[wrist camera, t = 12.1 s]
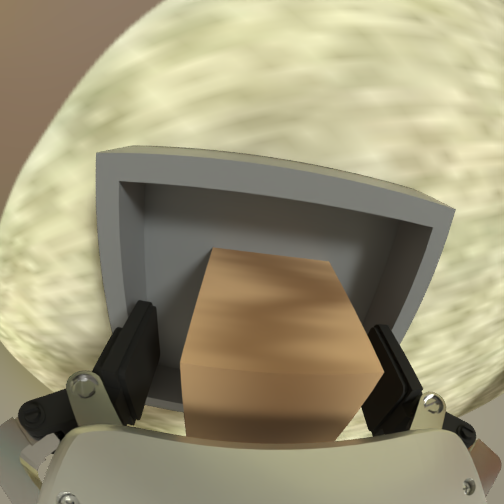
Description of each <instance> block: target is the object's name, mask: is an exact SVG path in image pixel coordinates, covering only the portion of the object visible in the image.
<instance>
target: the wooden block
mask: <svg viewBox="0 0 504 504" xmlns="http://www.w3.org/2000/svg"><path fill="white" fill-rule="evenodd" d="M180 372H181V386H182V398H183V409H184V419H185V428H186V437H193V438H200V439H208V440H217V441H227V442H240V443H261V444H301V443H321V442H334V441H335V440H336V439H337V437H338V436H339V435H340V434H341V432H342V431H343V430H344V429H345V427H346V426H347V425H348V424H349V422H350V421H351V420H352V418H353V417H354V416H355V414H356V413H357V412H358V410H359V409H360V408H361V406H362V405H363V403H364V402H365V401H366V399H367V398H368V396H369V395H370V393H371V392H372V390H373V389H374V387H375V386H376V384H377V383H378V381H379V380H380V378H381V377H382V375H383V373H384V370H383V368H382V366H381V364H380V362H379V359H378V357H377V355H376V353H375V351H374V349H373V346H372V344H371V342H370V340H369V338H368V336H367V334H366V332H365V330H364V328H363V326H362V324H361V322H360V320H359V318H358V316H357V314H356V312H355V310H354V308H353V306H352V304H351V302H350V300H349V298H348V296H347V294H346V292H345V290H344V288H343V286H342V285H341V283H340V281H339V279H338V277H337V275H336V273H335V271H334V270H333V268H332V266H331V264H330V262H329V261H321V260H313V259H305V258H296V257H288V256H280V255H272V254H263V253H255V252H247V251H239V250H230V249H222V248H214V247H213V249H212V252H211V255H210V258H209V262H208V265H207V268H206V272H205V275H204V278H203V282H202V285H201V288H200V292H199V295H198V299H197V302H196V306H195V309H194V313H193V316H192V320H191V323H190V327H189V330H188V334H187V338H186V341H185V345H184V349H183V353H182V356H181V360H180Z"/></svg>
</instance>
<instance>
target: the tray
mask: <svg viewBox="0 0 504 504" xmlns="http://www.w3.org/2000/svg"><path fill="white" fill-rule="evenodd" d="M455 210H456V209H454V208H452V207H450V206H448V205H446V204H444V203H442V202H440V201H438V200H436V199H434V198H432V197H430V196H428V195H426V194H424V193H422V192H419V191H417V190H415V189H412V188H408V187H405V186H401V185H398V184H394V183H391V182H387V181H383V180H379V179H375V178H372V177H368V176H363V175H359V174H355V173H351V172H346V171H342V170H337V169H333V168H328V167H323V166H318V165H313V164H307V163H302V162H296V161H291V160H285V159H278V158H272V157H265V156H258V155H251V154H243V153H235V152H226V151H216V150H206V149H194V148H180V147H163V146H128V147H123V148H117V149H112V150H107V151H102V152H98V153H96V213H97V230H98V242H99V253H100V262H101V270H102V278H103V285H104V291H105V297H106V303H107V309H108V314H109V319H110V324H111V329H112V333H113V332H114V330H115V329H116V328H117V327H121V328H123V326H124V324H125V322H126V321H127V319H128V317H129V315H130V313H131V312H132V310H133V308H134V306H135V305H136V303H137V301H138V300H142V301H148V302H152V305H153V306H156V309H157V321H158V333H159V344H160V359H159V362H158V365H157V368H156V371H155V374H154V377H153V380H152V383H151V386H150V389H149V392H148V396H147V399H146V402H145V405H149V406H153V407H158V408H163V409H168V410H173V411H178V412H184V409H183V398H182V386H181V372H180V360H181V356H182V353H183V349H184V345H185V341H186V338H187V334H188V330H189V327H190V323H191V320H192V316H193V313H194V309H195V306H196V302H197V299H198V295H199V292H200V288H201V285H202V282H203V278H204V275H205V272H206V268H207V265H208V262H209V258H210V255H211V252H212V249H213V247H214V248H222V249H230V250H239V251H247V252H255V253H263V254H272V255H280V256H288V257H296V258H305V259H313V260H321V261H329V262H330V264H331V266H332V268H333V270H334V271H335V273H336V275H337V277H338V279H339V281H340V283H341V285H342V286H343V288H344V290H345V292H346V294H347V296H348V298H349V300H350V302H351V304H352V306H353V308H354V310H355V312H356V314H357V316H358V318H359V320H360V322H361V324H362V326H363V328H364V330H365V332H366V334H367V335H368V333H369V331H370V329H371V328H372V327H374V326H375V325H376V324H383V325H388V326H389V328H390V329H391V331H392V333H393V334H394V336H395V338H396V340H397V341H398V343H399V345H400V343H401V341H402V340H403V338H404V336H405V334H406V332H407V330H408V328H409V326H410V324H411V322H412V320H413V318H414V316H415V314H416V312H417V310H418V308H419V306H420V304H421V302H422V300H423V297H424V295H425V293H426V291H427V288H428V286H429V284H430V281H431V279H432V276H433V274H434V272H435V269H436V266H437V264H438V261H439V259H440V256H441V253H442V250H443V248H444V245H445V242H446V239H447V236H448V233H449V230H450V226H451V223H452V220H453V217H454V213H455Z"/></svg>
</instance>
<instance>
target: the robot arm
mask: <svg viewBox="0 0 504 504" xmlns="http://www.w3.org/2000/svg"><path fill="white" fill-rule="evenodd" d="M367 336H368V338H369V340H370V342H371V344H372V346H373V349H374V351H375V353H376V355H377V357H378V359H379V362H380V364H381V366H382V368H383V370H384V373H383V375H382V377H381V378H380V380H379V381H378V383H377V384H376V386H375V387H374V389H373V390H372V392H371V393H370V395H369V396H368V398H367V399H366V401H365V402H364V403H363V405H362V406H361V408H362V411H363V414H364V417H365V420H366V424H367V427H368V430H369V431H371V432H372V435H373V437H368V438H361V439H353V440H344V441H334V442H321V443H301V444H261V443H240V442H227V441H217V440H208V439H200V438H193V437H186V436H180V435H174V434H168V433H162V432H157V431H152V430H146V429H141V428H136V427H129V426H127V424H130V425H134V424H135V421H136V419H137V420H140V418H141V415H142V412H143V409H144V405H145V402H146V399H147V396H148V392H149V389H150V386H151V383H152V380H153V377H154V374H155V371H156V368H157V365H158V362H159V359H160V344H159V333H158V321H157V309H156V306H153V305H152V302H148V301H142V300H138V301H137V303H136V305H135V306H134V308H133V310H132V312H131V313H130V315H129V317H128V319H127V321H126V322H125V324H124V326H123V328H121V327H117V328H116V329H115V330H114V332H113V334H112V336H111V337H110V339H109V341H108V343H107V345H106V346H105V348H104V350H103V352H102V354H101V355H100V357H99V359H98V361H97V363H96V365H95V367H94V369H93V371H92V372H91V371H79V372H77V373H74V374H73V375H72V376H70V378H69V379H68V381H67V384H66V389H64V390H61V391H58V392H55V393H52V394H49V395H46V396H43V397H39V398H36V399H33V400H30V401H28V402H26V403H24V404H23V405H22V406H21V408H20V409H19V413H18V417H17V418H16V419H14V418H13V417H12V418H10V419H9V420H7V421H6V422H4V423H3V424H2V425H1V426H0V486H1V487H2V489H3V490H4V492H5V494H6V495H7V497H8V498H9V499H10V501H11V502H12V504H487V501H486V496H487V494H488V492H489V490H490V489H491V487H492V485H493V483H494V481H495V480H496V478H497V476H498V474H499V472H500V470H501V460H500V458H499V457H498V456H497V455H496V454H495V453H494V452H493V451H492V450H491V449H490V448H489V447H488V446H487V445H485V444H484V443H483V442H482V441H481V440H480V439H477V440H476V432H475V430H474V428H473V427H472V426H471V425H470V424H468V423H467V422H465V421H463V420H461V419H459V418H457V417H455V416H453V415H451V414H449V413H447V412H446V404H445V401H444V400H443V398H442V397H441V396H440V395H438V394H437V393H434V392H426V393H424V394H422V392H421V391H422V390H423V387H422V386H421V384H420V382H419V380H418V378H417V376H416V374H415V372H414V370H413V368H412V366H411V365H410V363H409V361H408V359H407V357H406V356H405V354H404V352H403V350H402V348H401V347H400V345H399V343H398V341H397V340H396V338H395V336H394V334H393V333H392V331H391V329H390V328H389V326H388V325H383V324H376V325H375V326H374V327H372V328H371V329H370V331H369V333H368V335H367ZM49 454H54V455H53V457H52V459H51V462H50V464H49V466H48V469H47V472H46V475H45V477H44V480H43V483H42V482H41V480H40V478H39V477H38V468H39V466H40V465H41V463H43V462H44V461H45V460H46V459H45V457H46V456H48V455H49Z"/></svg>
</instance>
